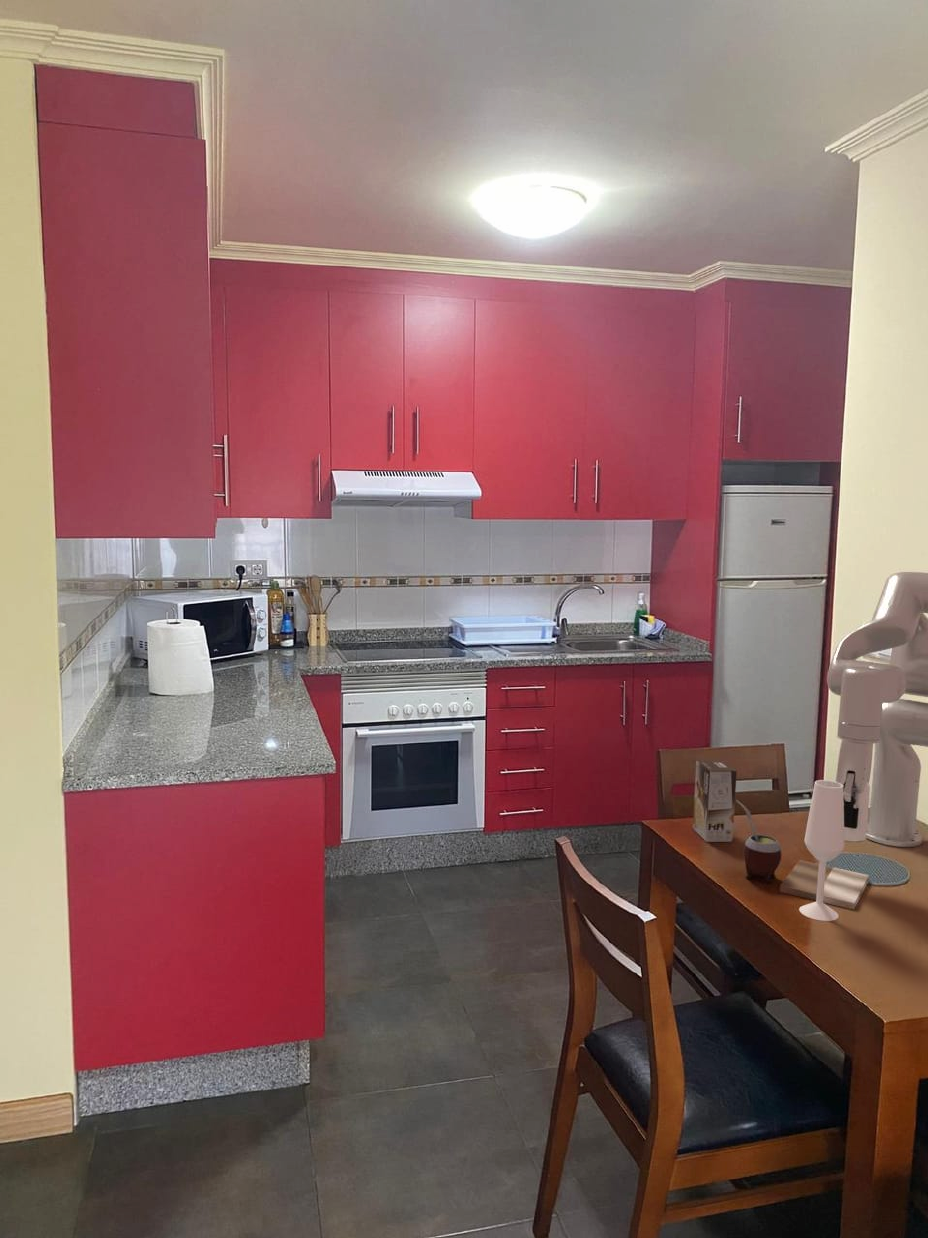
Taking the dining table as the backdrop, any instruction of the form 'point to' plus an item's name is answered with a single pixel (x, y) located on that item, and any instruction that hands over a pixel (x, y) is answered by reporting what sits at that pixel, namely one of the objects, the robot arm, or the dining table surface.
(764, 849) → the mate gourd
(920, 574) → the robot arm
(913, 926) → the dining table surface
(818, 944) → the dining table surface
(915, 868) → the dining table surface
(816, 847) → the champagne flute
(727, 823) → the coffee box
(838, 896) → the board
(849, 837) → the can
